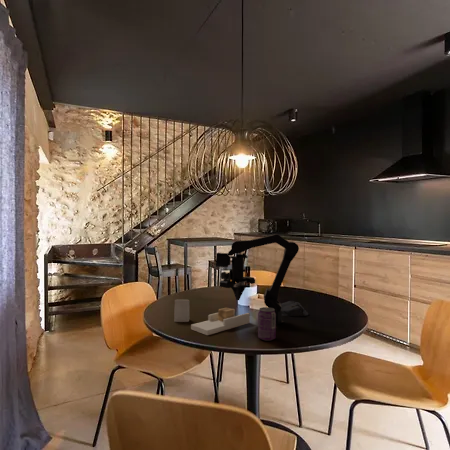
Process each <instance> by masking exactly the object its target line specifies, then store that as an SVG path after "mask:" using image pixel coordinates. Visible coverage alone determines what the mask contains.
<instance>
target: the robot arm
mask: <svg viewBox="0 0 450 450" xmlns="http://www.w3.org/2000/svg"><path fill="white" fill-rule="evenodd" d="M271 244H277V245H278V246H281V247H282V248H284V249H283V256H282V259H281V262H280V264H279V267H278V270H277V272H276V274H275V276H274V279H273V282H272V283H271V286H270V287H269V288H268V287H266V289H265V292H264V293H263V301H264V305H265V307H269V308H274V309H275V313H276V326H277V325H280V324H283V323H285V321H284V320H283V319H282V318H283V316H282V310H281V302H280V301H279V300H278V298H279V294H280V293H279V292H280V288H281V286H282V283H283V282H284V279H285V277H286V274H287V272H288V269H289V267H290V265H291V262H292V261H293V260H294V258H295V257H296V256H297V254H298V252H299V250H300V248H299V245H298V243H296V242H295V241H288V240H287V239H285V238H284V237H282V236H281V235H280V234H278V233H275V234H272V235H267V236H263V237H259V238H258V237H257V238H253V239H248V240H246V239H245V240H243V239H242V240H235V241H234V242H232V243H231V249H230V250H228V252H223V253H222V252H217V253H216V256H215V257H216V259H215V267H216V268H229V266H231V268H230V269H229V271H228V272H226V271H222V272H220V278H221V280H220V281H219V287H220V288H225V289H231V290H232V291H233V293H234V297H235V300H236V301H240V300H241V297H242V295H243V292H244V291H245V289H246V288H247V287H248V285H247V284H246V283H249V284H250V285H254V284H256V279H255V277H252V276H245V273H246V270H247V269H245V259H248V258H249V257H248V255H247V254H246V253H245V252H246V251H249V250H250V249H253V248H258V247H261V246H267V245H271ZM242 253H243V254H242ZM235 254H236V255H235Z"/></svg>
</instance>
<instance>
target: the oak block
mask: <svg viewBox="0 0 450 450" xmlns="http://www.w3.org/2000/svg"><path fill="white" fill-rule="evenodd" d="M234 309H235V308H229V307H224V308H223V307H222V308H218V312H217V313H218V320H219V321H223V319H227V318H231V317H234Z"/></svg>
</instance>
